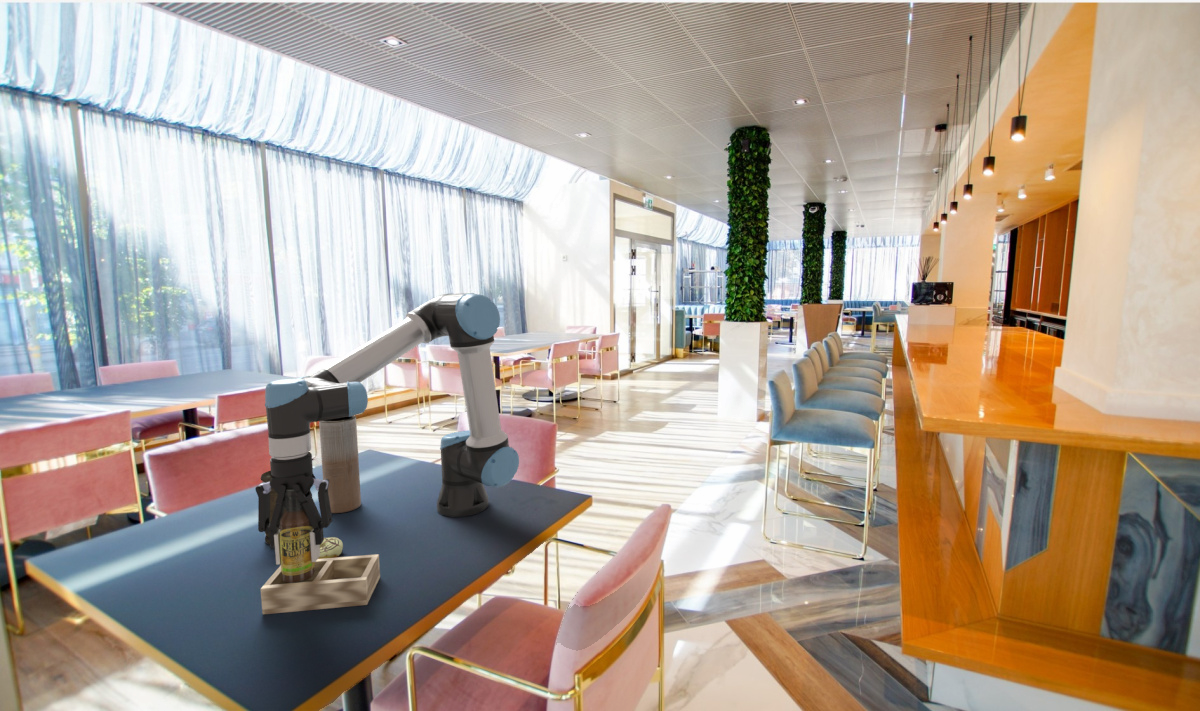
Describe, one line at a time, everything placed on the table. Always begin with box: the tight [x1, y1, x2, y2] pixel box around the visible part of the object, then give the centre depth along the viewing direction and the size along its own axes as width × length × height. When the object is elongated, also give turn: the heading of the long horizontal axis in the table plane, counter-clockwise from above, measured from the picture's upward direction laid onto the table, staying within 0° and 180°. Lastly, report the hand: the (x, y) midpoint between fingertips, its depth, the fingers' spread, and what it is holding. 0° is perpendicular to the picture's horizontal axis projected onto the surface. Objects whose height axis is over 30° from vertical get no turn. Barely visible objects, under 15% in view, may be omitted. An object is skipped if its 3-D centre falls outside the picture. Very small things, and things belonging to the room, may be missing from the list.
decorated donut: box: [318, 536, 344, 559], centre depth 130 cm, size 10×11×4 cm
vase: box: [318, 415, 362, 514], centre depth 159 cm, size 10×10×28 cm
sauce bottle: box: [280, 489, 315, 583], centre depth 111 cm, size 6×6×20 cm
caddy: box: [260, 553, 381, 615], centre depth 114 cm, size 20×11×6 cm, turn 99°
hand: (298, 559), depth 112 cm, fingers closed on sauce bottle, 6 cm apart
